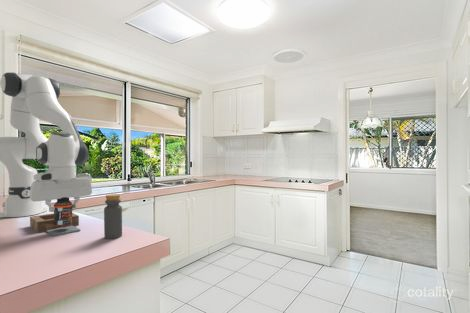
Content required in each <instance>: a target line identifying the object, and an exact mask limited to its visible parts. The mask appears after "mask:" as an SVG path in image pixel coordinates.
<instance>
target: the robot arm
mask: <svg viewBox="0 0 470 313" xmlns="http://www.w3.org/2000/svg"><path fill="white" fill-rule="evenodd" d="M0 88H1V90H2V93H3V94H4V95H6V96H9V97H11V102H10V103H11V104H10V117H9V118H10V120H9V123H10V126H11V127H12V128H14V129H16V130H18V131H20V132H22V133H24V134H25V136H23V137H22V136H1V137H0V162H1V163H2V164H3V165H4V166H5V168H6V169H7V172H8V178H9V179H8V180H9V187H8V191H7V192H8V193H7V194H8V197H6V199H4V201H3V202H2V208H3V211H1V213H0V218H21V217H29V216H30V217H31V216H36V215H40V214H42V213H44V212H49V213H54V211H55V207H54V205H53V206H52V205H51V204H52V201H53V200H57V199H61V198H62V197H67V198H69V199H70V198H73V199H74V201H73V202H72V210H74V209H77V208H78V207H77V205H78V203H79V201H80V198H81V197H86V196H91V195H92V194H93V187H92V180H93V178H92V175H91V174H89V173H87V172H84V173H77V166H78V167H79V166H82V165H83V164H85V163H86V162H87V161H88V159H89V156H90V152H89V149H88V147H87V145H86V144H85V142H84V141H83V138H82V136H81V134H80V132H79V130H78V128H77V126H76V123H75V122H74V119H73V117H72V116H71V114H70V113H69V112H68V111H66V110H65V109H64V108H63V107H62V105H61V104H60V103H59V101H58V99H59V98H60V95H61V86H60V84H59V82H58V80H55V79H52V78H50V77H49V78H48V77H44V76H43V75H34V74H25V73H16V72H11V71H10V72H5V73H3V74H2V77H1V78H0ZM40 120H41V121H44V122H45V123H46V122H47V123H50V124H51V125H55V126H56V127H58V128H60V129H61V130H62V131H63V132H51V133H50V134H49V137H48V138H47V137H46V136H45V134H43V132H42V129H41V127H40V126H41V125H40ZM28 159H30V160H32V159H35V160H36V161H37V162H38V163H40V165H44V166H48V169H47V170H46V171H42V172H38V170H37V169H36V168H34V167H33V166H30V165H27V164H25V163H24V162H23V160H28ZM44 201H45V204H46V205H47V206H48V209H47V208H44Z"/></svg>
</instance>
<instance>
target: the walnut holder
mask: <svg viewBox="0 0 470 313" xmlns="http://www.w3.org/2000/svg"><path fill="white" fill-rule="evenodd" d="M72 218H73V219H72V225H70V226H75V227H77V226H79V225H80V221H79V220H80V217H79V215H78V214H76V213H73V212H72ZM29 227H30V228H32V230H34V231H36V232H37V234H38V233H44V232H47V230H51V229H56V228H62V227H55V226H54V212H52V213H46V214H41V215H40V214H38V215H31V216H30V217H29Z"/></svg>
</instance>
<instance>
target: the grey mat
mask: <svg viewBox="0 0 470 313" xmlns="http://www.w3.org/2000/svg"><path fill="white" fill-rule="evenodd" d="M80 231H81V229H80V228H78V227H77V226H67V227H62V228H56V229H51V230H47V231H46V233H48V234H49V235H50V236H51V237H57V236H58V237H59V236H62V235H67V234H72V233H77V232H80Z"/></svg>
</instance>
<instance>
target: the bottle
mask: <svg viewBox="0 0 470 313" xmlns="http://www.w3.org/2000/svg"><path fill="white" fill-rule="evenodd" d="M120 196H121V194H120V193H119V194H117V193H112V194H111V193H110V194H107V195H105V198H106V200H105V201H104V203H105V204H106V206H105V207H104V208H103V212H104V213H103V223H104V225H103V227H104V230H103V231H104V233H103V234H104V235H103V236H104V239H106V240H113V239H118V238H121V237H122V236H123V206H122V205H120V203H121V202H122V200H121V199H120V198H121V197H120Z"/></svg>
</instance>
